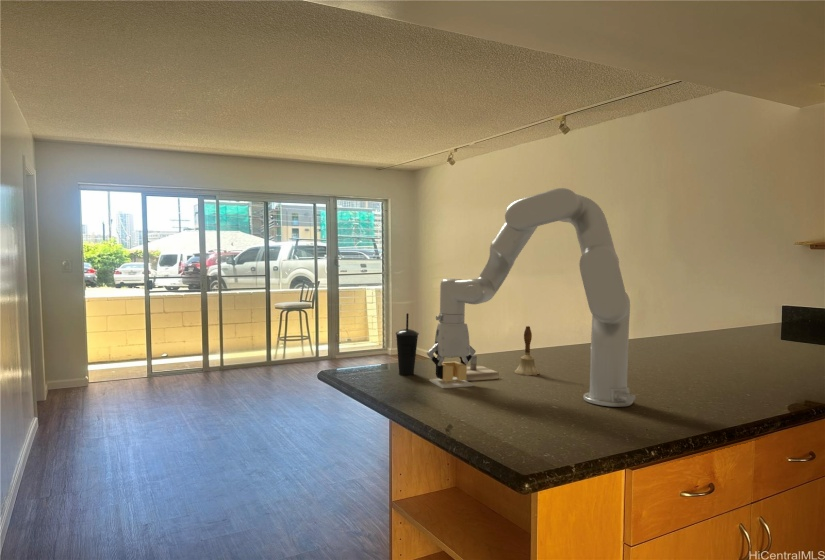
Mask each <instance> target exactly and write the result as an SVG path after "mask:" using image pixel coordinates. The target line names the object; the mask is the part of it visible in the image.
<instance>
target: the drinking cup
mask: <svg viewBox="0 0 825 560" xmlns="http://www.w3.org/2000/svg"><path fill="white" fill-rule="evenodd" d="M409 317H410V315H409V313H406V317H405V318H406V319H405V324H406V325H405V328H402V329H400V330H398V331H396V332H395V335H396V337H395V338H396V348H397V364H398V374H399V375H400V376H413V375H414V374H415V367H416V366H415V365H416V357H417V355H416V354H417V347H418V338H419V337H418V336H419V334H420V333H419V331H418V332H417V331H415V330H413V329H412V328H411V329H410V328H409Z"/></svg>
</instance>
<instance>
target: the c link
mask: <svg viewBox="0 0 825 560" xmlns="http://www.w3.org/2000/svg"><path fill="white" fill-rule="evenodd" d="M442 366H443V379H441V380H443V381H453V378H455V377H456V378H457V380H466V377H467V366H468V364H466V365H464V364H462V363H461V362H459V361H456V360H455V361H454V360H453V361H443V363H442ZM435 377H436V378H437V376H436V375H435Z"/></svg>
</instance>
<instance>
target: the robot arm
mask: <svg viewBox="0 0 825 560" xmlns="http://www.w3.org/2000/svg"><path fill="white" fill-rule="evenodd" d="M504 213H505V214H504V220H505V222H504V223H503V225H502V226H501V228H499V231H498V233H497V234H496V236H495V237H494V238H493V240H492V242H491V243H490V245H489V257H488V260H487V262H486V264H485V266H484V268H483V269H482V270H481V272H480V273H479V275H478V276H477V278H471V279H461V278H443V279H442V280H441V281H440V286H439V287H440V289H439V290H440V291H439V294H440V295H439V296H440V297H439V314H438V315H435V320H436V321H438V322H439V323H437V326H436V331H435V338H434V345H433V346H432V347H431V348H429V350H428V351H427V352H426V355H427V356H428V358H430V360H431V361H432V362H433V363H434V364H435V377H436V376H437V377H436V379H443V366H442V363H443V362H444V361H445V359H447V358H448V359H449V358H458V359H459V361H460V363H462V364H464V365H468V364H469V362H470V359H471V358H472V356H473V355H475V354H476V350H475V349H474V348H473V347H472V345H470V334H469V333H470V332H469V327H468V324H467V323H465V321H466V320H465V317H466V316H465V315H466V313H465V311H466V310H465V309H466V308H465V307H466V305H465V304H468V305H480V304H484V303H487V302H489V301H491V300H492V299H493V298H494V296H495V295H496V294H497V292H498V291H499V289H500V288H501V286H502V285H503V283H504V282H505V280H506V278H507V277H508V275H509V273H510V271H511V269H512V268H513V266H514V264H515V261H516V259H517V258H518V256H519V255H520V254H521V252H522V250H523V249H524V248H525V246H526V244H527V243H528V242H529V240H530V239H531V237H532V235H533V234H534V233H535V231H537V228H538V227H540V226H544V225H547V224H551V223H555V222H563V223H569V224H571V225H572V226H573V227H574V229H575V231H576V237H577V241H578V244H579V248H580V252H581V256H580V259H579V262H578V263H579V264H578V265H579V271H580V276H581V281H582V285H583V287H584V293H585V297H586V300H587V303H588V309H589V310H590V313H591V317H592V318H591V319H592V320H591V335H590V337H591V338H590V364H589V366H590V367H589V392H588V391H587V392H585V393H583V394H582V395H583V400H584V401H585V402H587V403H589V404H592V405H598V406H601V407H603V406H604V407H614V408H615V407H616V408H617V407H620V408H621V407H622V408H623V407H629V406H631V405H632V404H633V402H634V401H635V400H636V395H635V394H632V393H630V387H628V360H629V339H630V338H629V336H630V332H629V331H630V318H631V317H630V314H631V302H630V301H631V300H630V298H629V295H628V293H627V292H626V289H625V285H624V284H625V283H624V280H623V276H622V272H621V268H620V260H619V257H618V254H617V252H616V250H615V246H614V241H613V238H612V234H611V231H610V228H609V224H608V221H607V218H606V216H605V214H604V211H603V209H602V208H601V207H600V205H598V204H597V203H596V202H595V201H594V200H592V199H591V198H589V197H587V196H584V195H580V194H577V193H575V191H573V190H571V189H569V188H566V187H560V188H554V189H550V190H547V191H544V192H540V193H537V194H534V195H531V196H525V197H523V198H520V199H517V200H514V201H513V202H511V203H510V204H509V205H508V206H507V208H506V209H505V212H504ZM434 354H435V355H436V356H435V355H434Z"/></svg>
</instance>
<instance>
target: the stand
mask: <svg viewBox="0 0 825 560" xmlns="http://www.w3.org/2000/svg"><path fill="white" fill-rule="evenodd" d="M477 357H478V356H477V355H475V354H474V355H473V356H472V358H471V359H470V360H469V362H470V363H469V364H470V365H467V377H466V380H465V381H467V382H470V381H482V380H485V381H486V380H495V379H499V371H496V370H493V369H491V368H488V367H486V366H483V365H477V362H478V361H477V359H478V358H477Z"/></svg>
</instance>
